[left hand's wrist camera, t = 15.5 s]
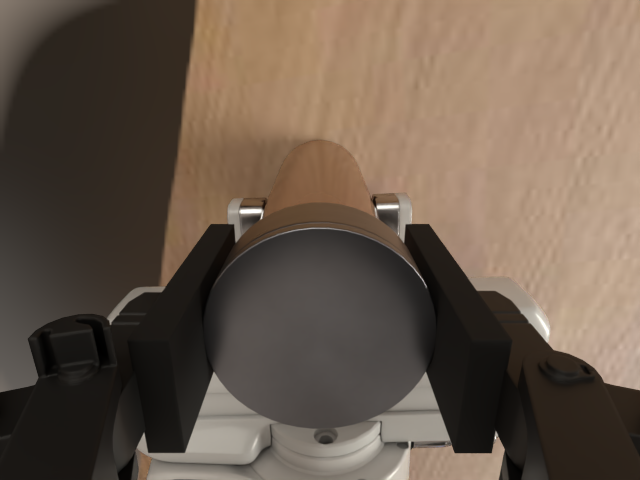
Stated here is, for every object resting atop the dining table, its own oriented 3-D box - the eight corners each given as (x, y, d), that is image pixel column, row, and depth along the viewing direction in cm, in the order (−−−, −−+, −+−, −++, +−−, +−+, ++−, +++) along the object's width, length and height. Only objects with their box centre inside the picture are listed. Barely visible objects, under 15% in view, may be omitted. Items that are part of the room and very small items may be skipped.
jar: (284, 224, 26) (240, 411, 12) (273, 144, 24) (205, 248, 10) (363, 216, 26) (418, 396, 11) (357, 135, 24) (414, 228, 10)
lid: (248, 391, 13) (236, 444, 11) (195, 222, 11) (170, 252, 10) (429, 362, 13) (447, 411, 11) (406, 183, 11) (425, 205, 9)
